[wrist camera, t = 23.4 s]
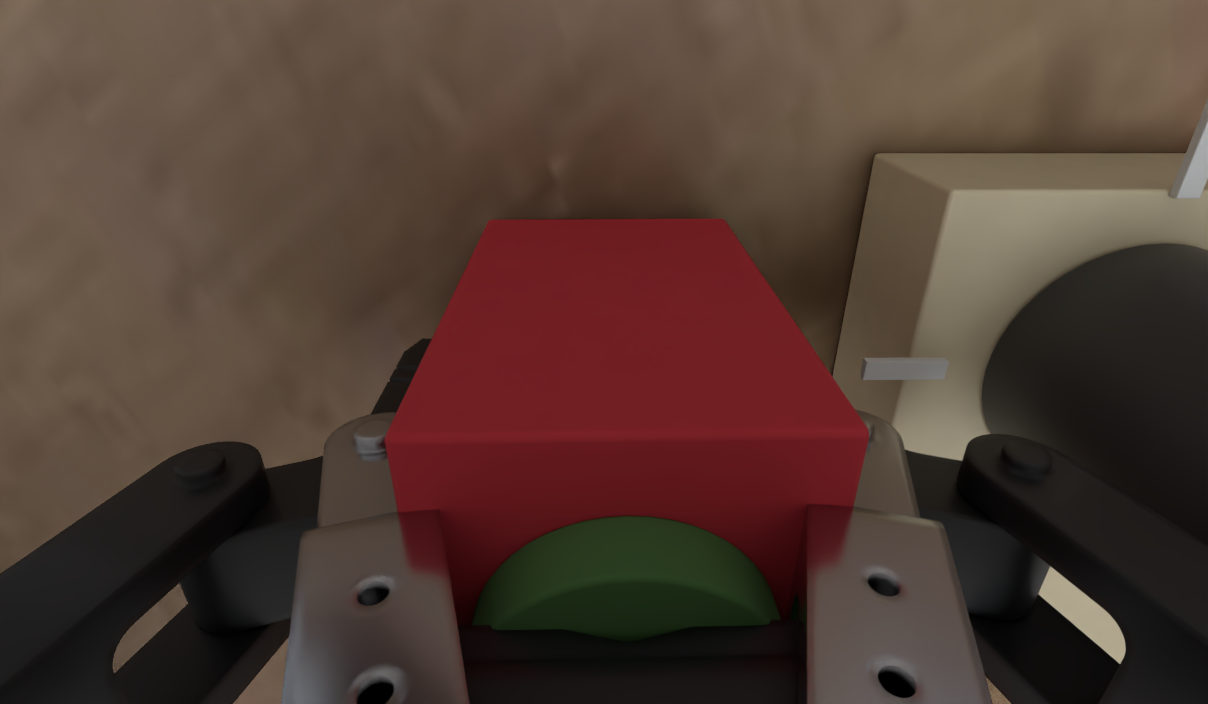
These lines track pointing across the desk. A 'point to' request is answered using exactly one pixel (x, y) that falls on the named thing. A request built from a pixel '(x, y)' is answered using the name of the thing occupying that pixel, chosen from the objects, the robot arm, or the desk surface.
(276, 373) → the desk surface
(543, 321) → the red block green button
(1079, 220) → the hob
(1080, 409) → the hob knob
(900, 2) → the desk surface
